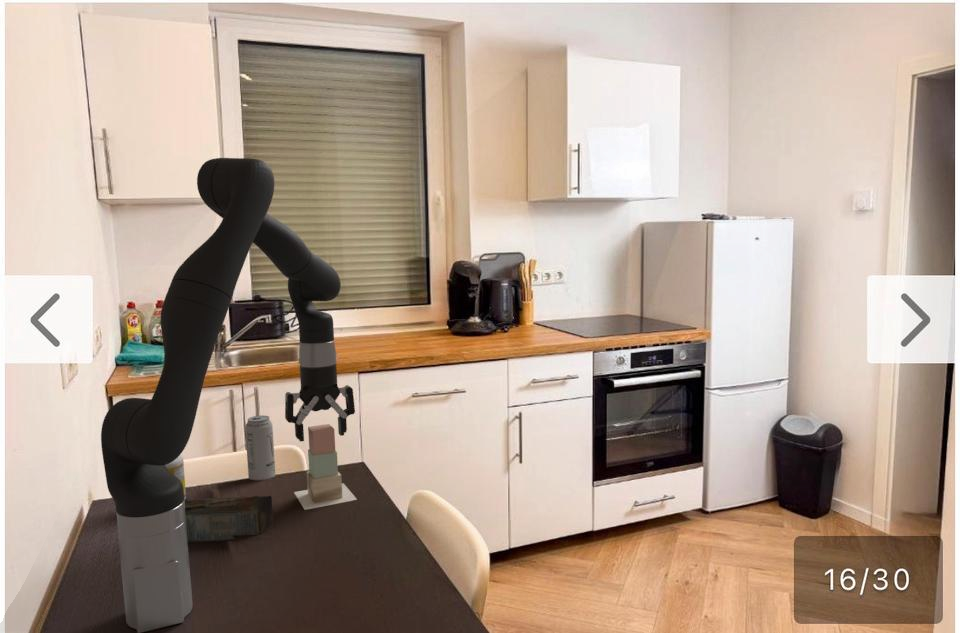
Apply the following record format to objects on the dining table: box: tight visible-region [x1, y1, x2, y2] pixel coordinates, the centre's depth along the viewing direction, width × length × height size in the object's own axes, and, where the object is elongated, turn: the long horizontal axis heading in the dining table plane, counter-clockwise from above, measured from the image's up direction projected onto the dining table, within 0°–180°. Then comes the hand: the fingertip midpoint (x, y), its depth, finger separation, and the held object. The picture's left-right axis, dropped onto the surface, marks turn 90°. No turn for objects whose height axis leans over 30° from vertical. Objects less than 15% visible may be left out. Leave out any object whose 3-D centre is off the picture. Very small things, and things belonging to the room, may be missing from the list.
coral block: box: [307, 423, 336, 455], centre depth 146 cm, size 4×4×5 cm
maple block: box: [306, 470, 343, 503], centre depth 147 cm, size 6×6×5 cm
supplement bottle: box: [165, 454, 187, 499], centre depth 148 cm, size 7×7×13 cm
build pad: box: [293, 483, 358, 511], centre depth 147 cm, size 11×11×1 cm
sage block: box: [307, 449, 339, 479], centre depth 146 cm, size 5×5×5 cm
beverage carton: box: [184, 495, 274, 543], centre depth 132 cm, size 8×19×7 cm, turn 90°
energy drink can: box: [245, 415, 276, 481], centre depth 160 cm, size 6×6×15 cm
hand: (321, 437), depth 146 cm, fingers open, 8 cm apart
